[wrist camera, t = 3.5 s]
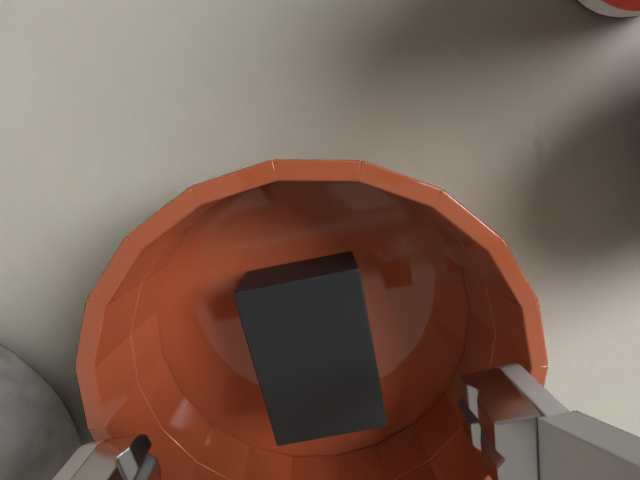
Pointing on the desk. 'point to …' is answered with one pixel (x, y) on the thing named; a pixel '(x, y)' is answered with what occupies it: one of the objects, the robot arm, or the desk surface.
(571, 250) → the desk surface
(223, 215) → the bowl
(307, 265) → the block
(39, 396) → the dish
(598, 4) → the pill bottle
